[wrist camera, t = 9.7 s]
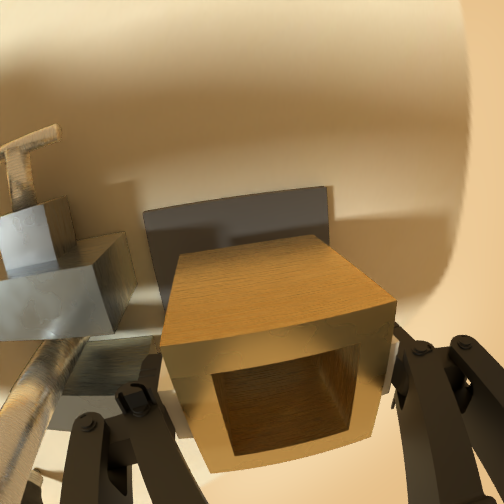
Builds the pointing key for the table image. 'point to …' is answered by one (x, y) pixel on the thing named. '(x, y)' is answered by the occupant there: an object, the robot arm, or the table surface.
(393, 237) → the table surface
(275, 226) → the mat
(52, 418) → the vise
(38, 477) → the light bulb
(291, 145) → the table surface
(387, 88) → the table surface
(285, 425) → the open wooden box
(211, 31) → the table surface
